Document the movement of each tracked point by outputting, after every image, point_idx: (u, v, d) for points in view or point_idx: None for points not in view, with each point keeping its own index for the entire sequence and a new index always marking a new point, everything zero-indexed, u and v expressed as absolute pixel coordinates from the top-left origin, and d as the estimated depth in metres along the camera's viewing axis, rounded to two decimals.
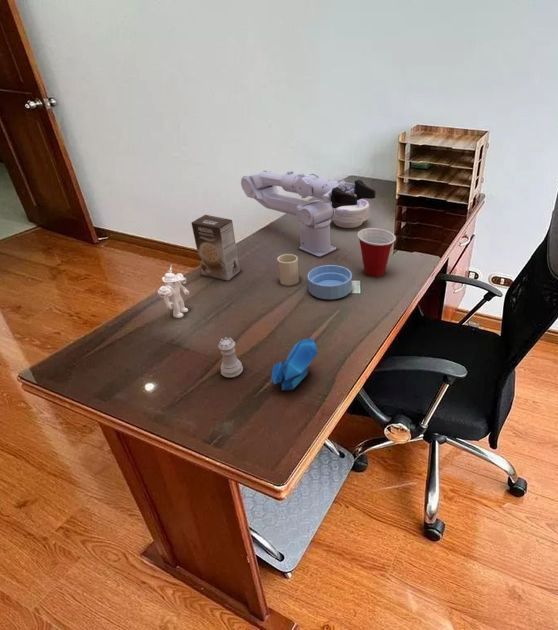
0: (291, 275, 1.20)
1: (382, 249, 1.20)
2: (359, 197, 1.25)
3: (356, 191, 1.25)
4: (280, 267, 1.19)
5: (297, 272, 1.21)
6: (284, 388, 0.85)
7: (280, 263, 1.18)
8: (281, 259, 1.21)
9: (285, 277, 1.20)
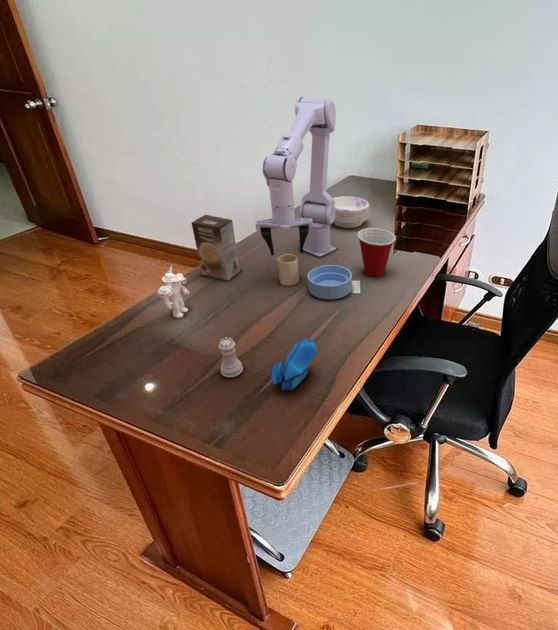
0: (291, 275, 1.20)
1: (382, 249, 1.20)
2: None
3: (299, 229, 1.16)
4: (280, 267, 1.19)
5: (297, 272, 1.21)
6: (284, 388, 0.85)
7: (280, 263, 1.18)
8: (281, 259, 1.21)
9: (285, 277, 1.20)
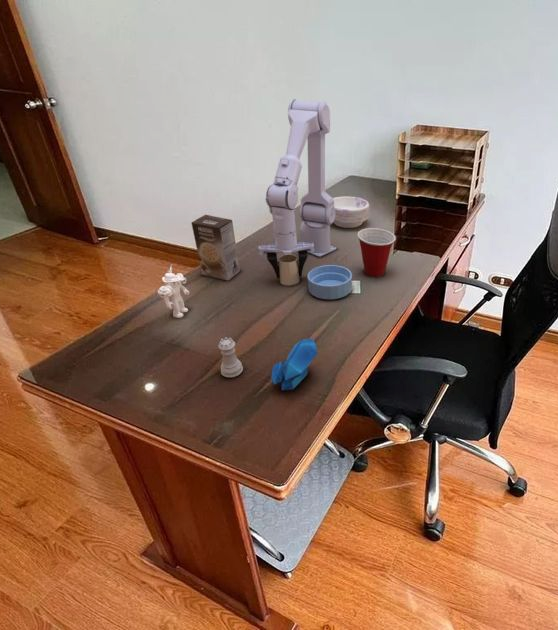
0: (291, 275, 1.20)
1: (382, 249, 1.20)
2: None
3: (298, 253, 1.20)
4: (280, 267, 1.19)
5: (297, 272, 1.21)
6: (284, 388, 0.85)
7: (280, 263, 1.18)
8: (281, 259, 1.21)
9: (285, 277, 1.20)
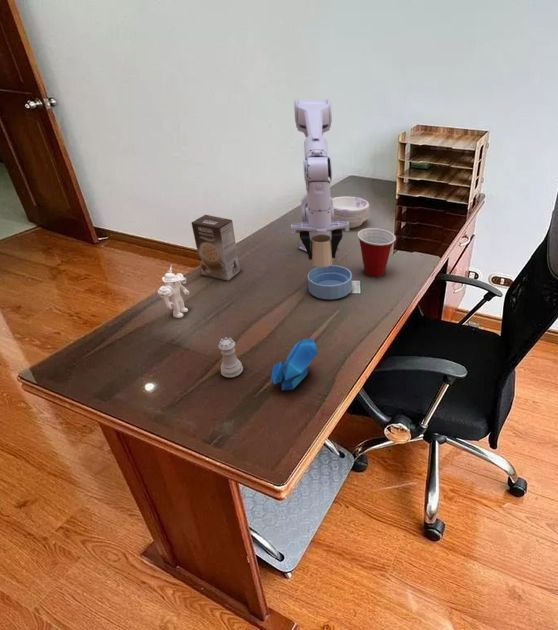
0: (325, 256, 1.13)
1: (382, 249, 1.20)
2: (331, 234, 1.14)
3: (332, 233, 1.12)
4: (313, 247, 1.12)
5: (331, 253, 1.14)
6: (284, 388, 0.85)
7: (313, 243, 1.11)
8: (313, 239, 1.14)
9: (318, 259, 1.13)
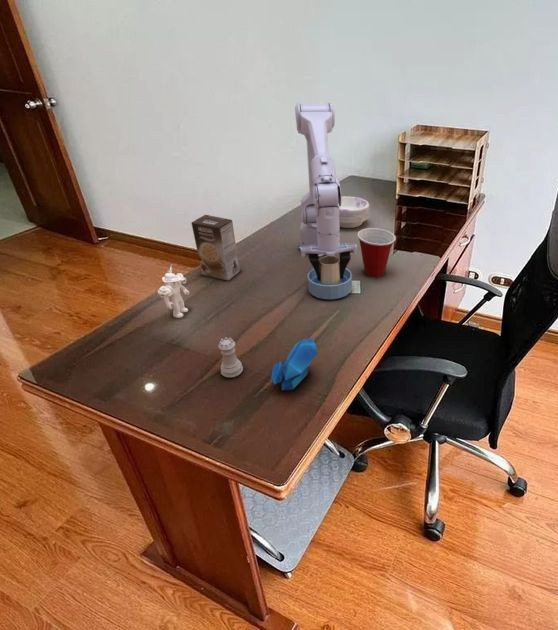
0: (333, 277, 1.15)
1: (382, 249, 1.20)
2: (339, 255, 1.17)
3: (340, 254, 1.15)
4: (322, 269, 1.14)
5: (339, 274, 1.16)
6: (284, 388, 0.85)
7: (322, 265, 1.13)
8: (322, 261, 1.17)
9: (327, 280, 1.15)
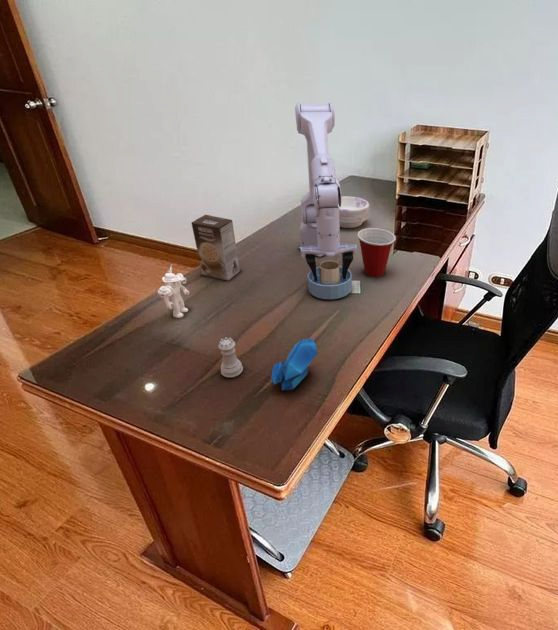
0: (333, 282, 1.16)
1: (382, 249, 1.20)
2: (342, 256, 1.17)
3: (343, 255, 1.15)
4: (322, 274, 1.15)
5: (339, 279, 1.17)
6: (284, 388, 0.85)
7: (322, 270, 1.14)
8: (322, 266, 1.18)
9: None
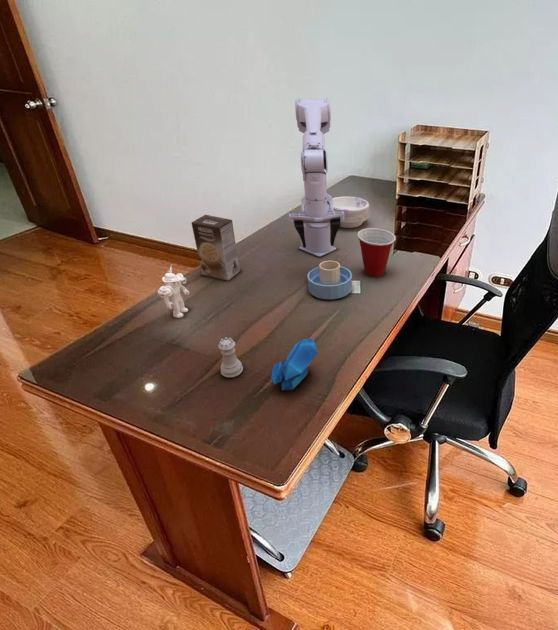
0: (333, 282, 1.16)
1: (382, 249, 1.20)
2: (330, 223, 1.21)
3: (330, 221, 1.19)
4: (322, 274, 1.15)
5: (339, 279, 1.17)
6: (284, 388, 0.85)
7: (322, 270, 1.14)
8: (322, 266, 1.18)
9: None
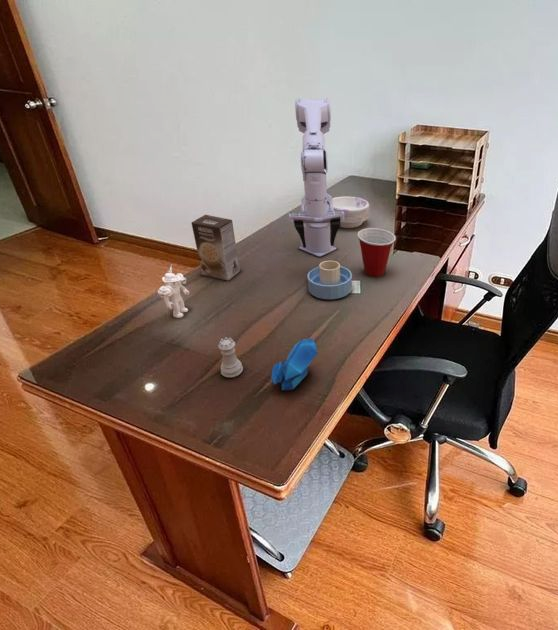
0: (333, 282, 1.16)
1: (382, 249, 1.20)
2: (330, 223, 1.21)
3: (330, 221, 1.19)
4: (322, 274, 1.15)
5: (339, 279, 1.17)
6: (284, 388, 0.85)
7: (322, 270, 1.14)
8: (322, 266, 1.18)
9: None
